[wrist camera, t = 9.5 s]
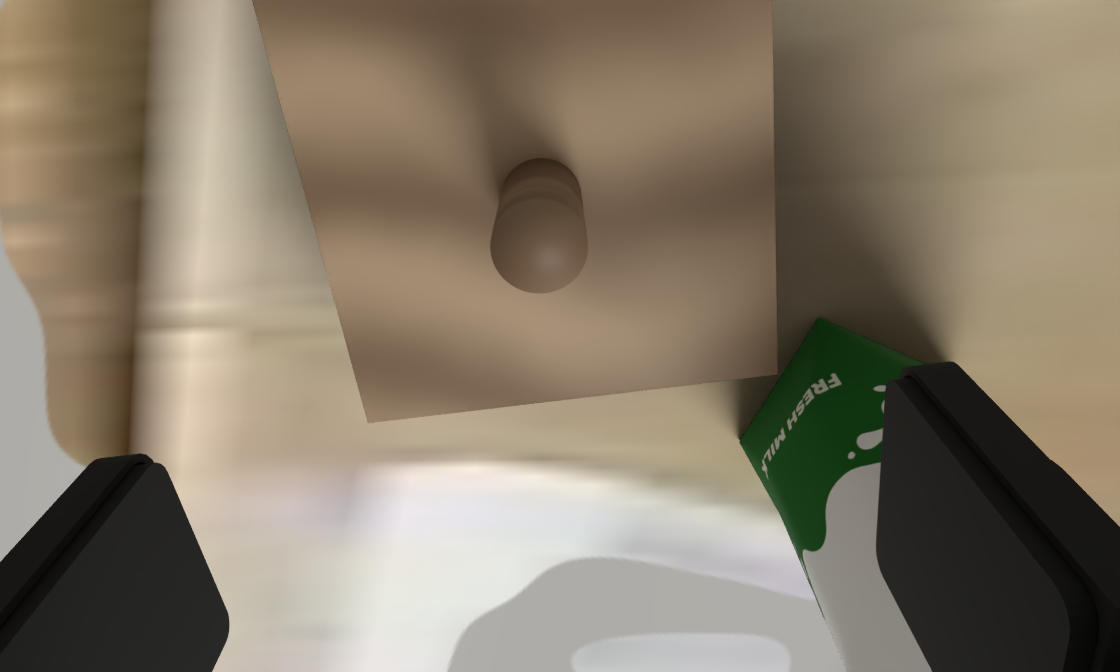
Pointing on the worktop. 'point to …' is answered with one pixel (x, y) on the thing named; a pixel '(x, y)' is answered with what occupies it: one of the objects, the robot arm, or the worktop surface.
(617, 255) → the lid
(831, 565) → the milk carton
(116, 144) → the worktop surface
